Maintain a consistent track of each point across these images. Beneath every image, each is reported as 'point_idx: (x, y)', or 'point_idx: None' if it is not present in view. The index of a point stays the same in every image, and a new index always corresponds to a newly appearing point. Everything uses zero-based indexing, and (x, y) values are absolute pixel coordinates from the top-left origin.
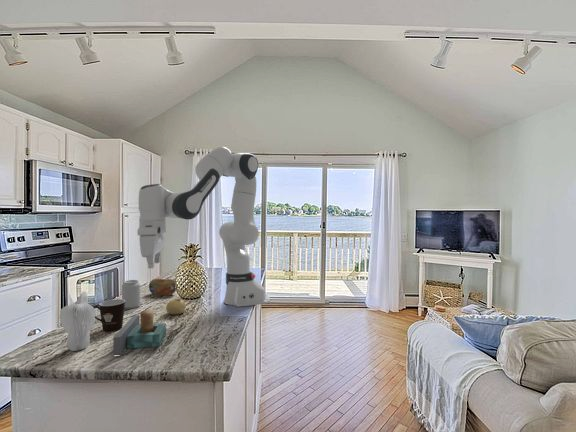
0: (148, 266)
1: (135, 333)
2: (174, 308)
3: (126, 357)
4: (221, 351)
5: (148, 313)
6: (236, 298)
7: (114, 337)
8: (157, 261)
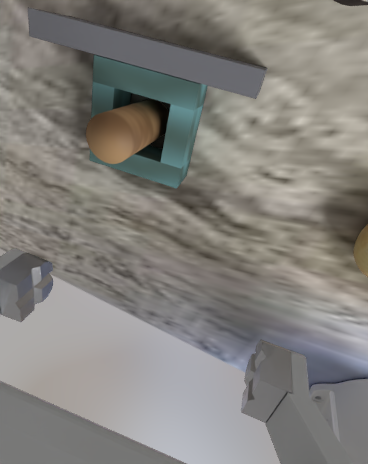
0: (3, 257)
1: (112, 85)
2: (361, 241)
3: (61, 59)
4: (57, 259)
5: (95, 144)
6: (331, 408)
7: (28, 12)
8: (251, 372)
